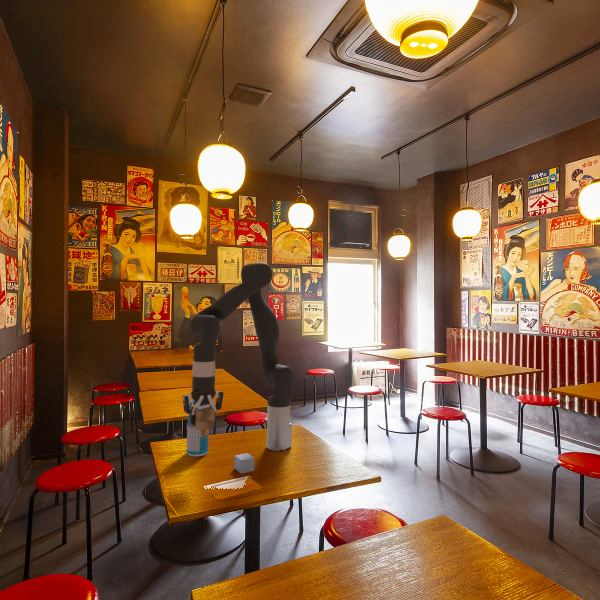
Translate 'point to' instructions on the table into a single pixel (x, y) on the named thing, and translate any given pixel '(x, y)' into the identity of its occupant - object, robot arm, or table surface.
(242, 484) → the menu card
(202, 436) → the beverage bottle
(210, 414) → the walnut block
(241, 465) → the slate cube
